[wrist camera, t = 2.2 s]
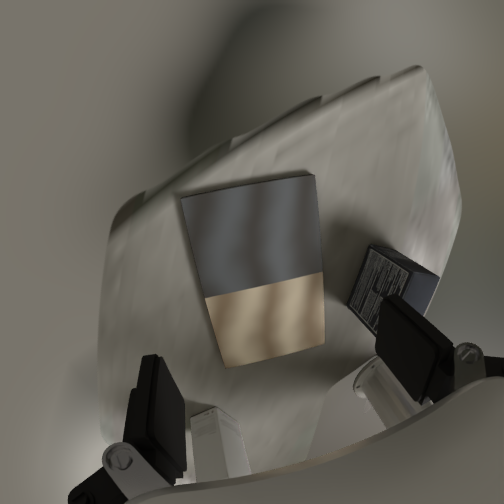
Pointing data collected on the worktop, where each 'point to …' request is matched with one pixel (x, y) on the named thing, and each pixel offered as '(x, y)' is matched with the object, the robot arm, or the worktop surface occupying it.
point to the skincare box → (217, 447)
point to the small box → (389, 284)
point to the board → (260, 266)
